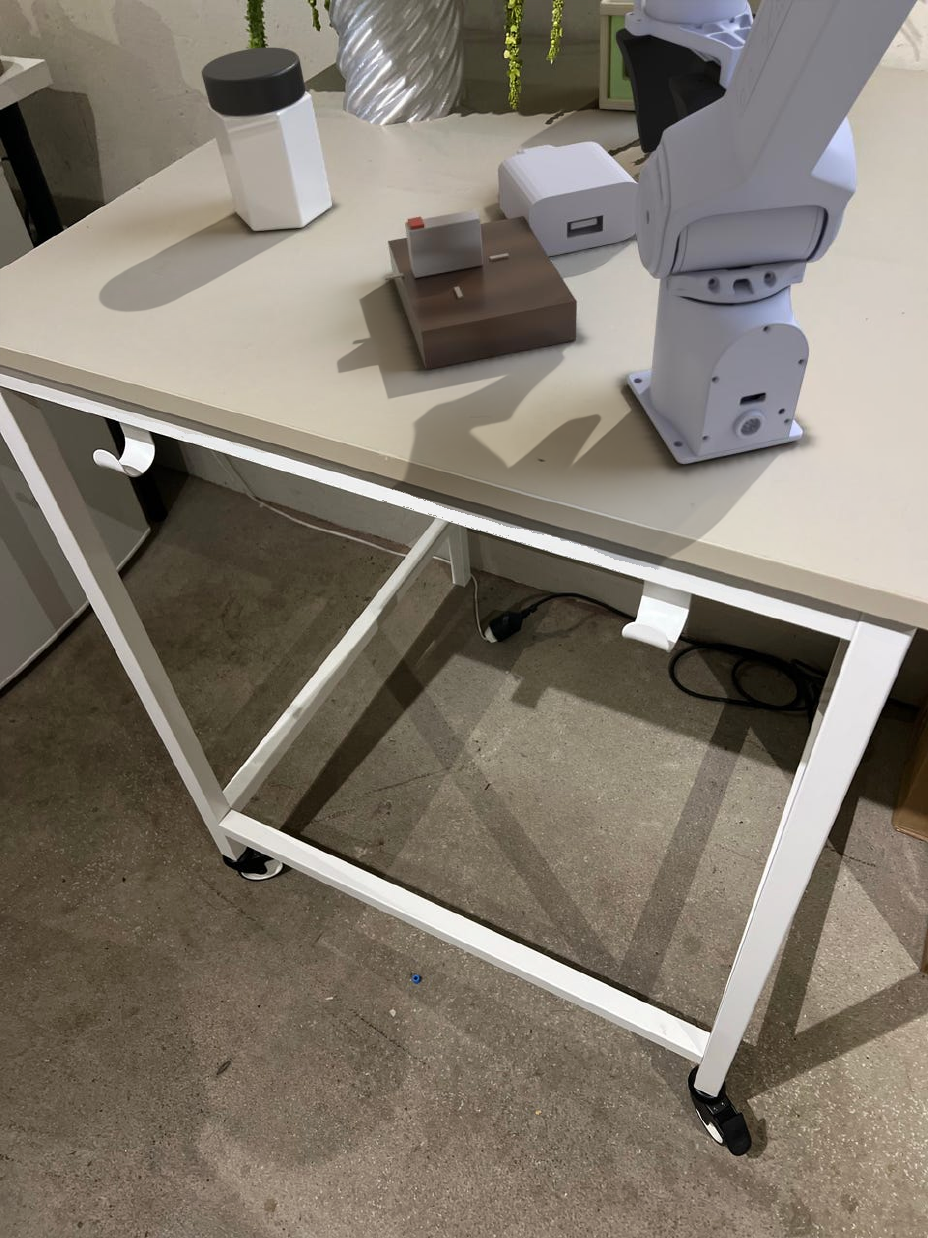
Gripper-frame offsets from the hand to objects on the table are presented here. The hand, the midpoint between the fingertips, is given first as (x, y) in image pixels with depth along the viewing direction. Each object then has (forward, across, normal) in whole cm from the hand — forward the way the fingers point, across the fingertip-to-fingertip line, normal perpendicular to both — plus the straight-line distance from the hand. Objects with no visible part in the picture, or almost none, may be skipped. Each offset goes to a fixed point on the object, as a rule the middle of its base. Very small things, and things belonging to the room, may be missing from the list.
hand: (677, 171), depth 57 cm
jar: (+10, -28, -26) cm, 39 cm away
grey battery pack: (+6, -6, -15) cm, 17 cm away
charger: (+10, -18, -3) cm, 20 cm away
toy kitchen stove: (+10, -38, +13) cm, 42 cm away
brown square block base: (+9, -4, -13) cm, 17 cm away
